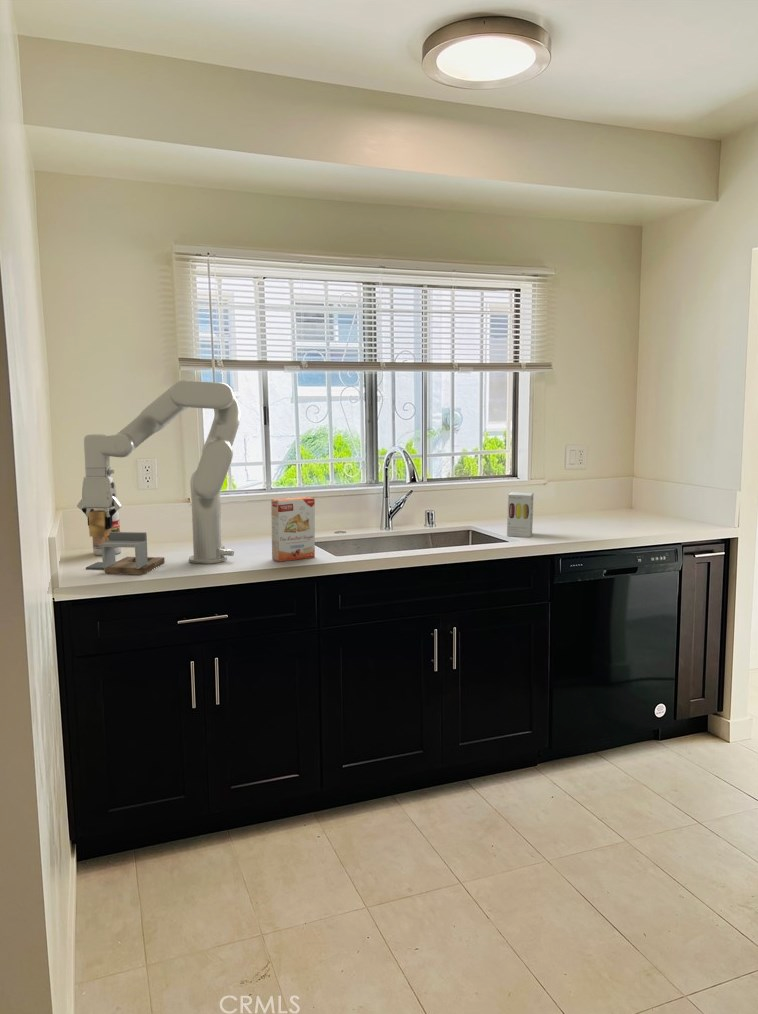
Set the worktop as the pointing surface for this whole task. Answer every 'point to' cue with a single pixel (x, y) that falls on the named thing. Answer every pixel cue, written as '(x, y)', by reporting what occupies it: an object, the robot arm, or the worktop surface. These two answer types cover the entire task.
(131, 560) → the board
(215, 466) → the robot arm
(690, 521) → the worktop surface
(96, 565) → the mat
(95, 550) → the fruit juice
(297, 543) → the cracker box
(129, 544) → the cover
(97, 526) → the block
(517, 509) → the supplement box
